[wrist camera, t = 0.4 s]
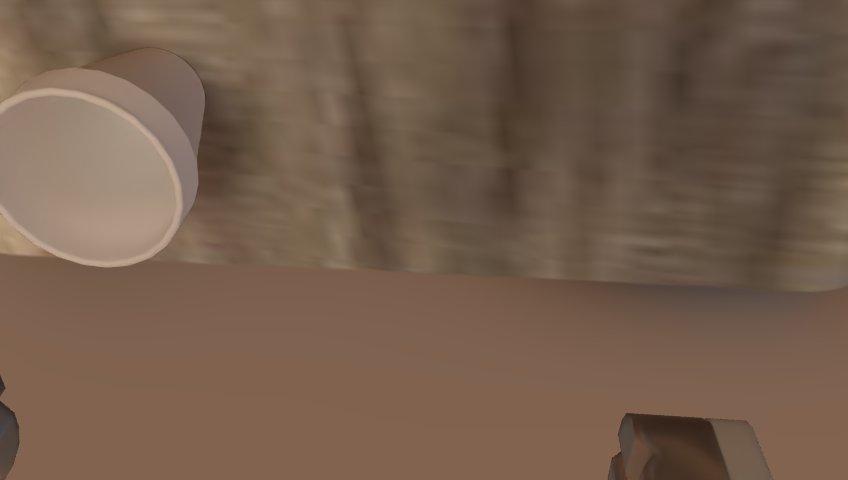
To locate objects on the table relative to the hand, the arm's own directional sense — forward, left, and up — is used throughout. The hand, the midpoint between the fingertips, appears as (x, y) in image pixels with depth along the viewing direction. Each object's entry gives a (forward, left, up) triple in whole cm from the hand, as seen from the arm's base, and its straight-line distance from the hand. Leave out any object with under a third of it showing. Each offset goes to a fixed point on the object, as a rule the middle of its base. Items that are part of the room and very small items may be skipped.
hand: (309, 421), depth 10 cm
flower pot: (+17, -20, -45) cm, 52 cm away
